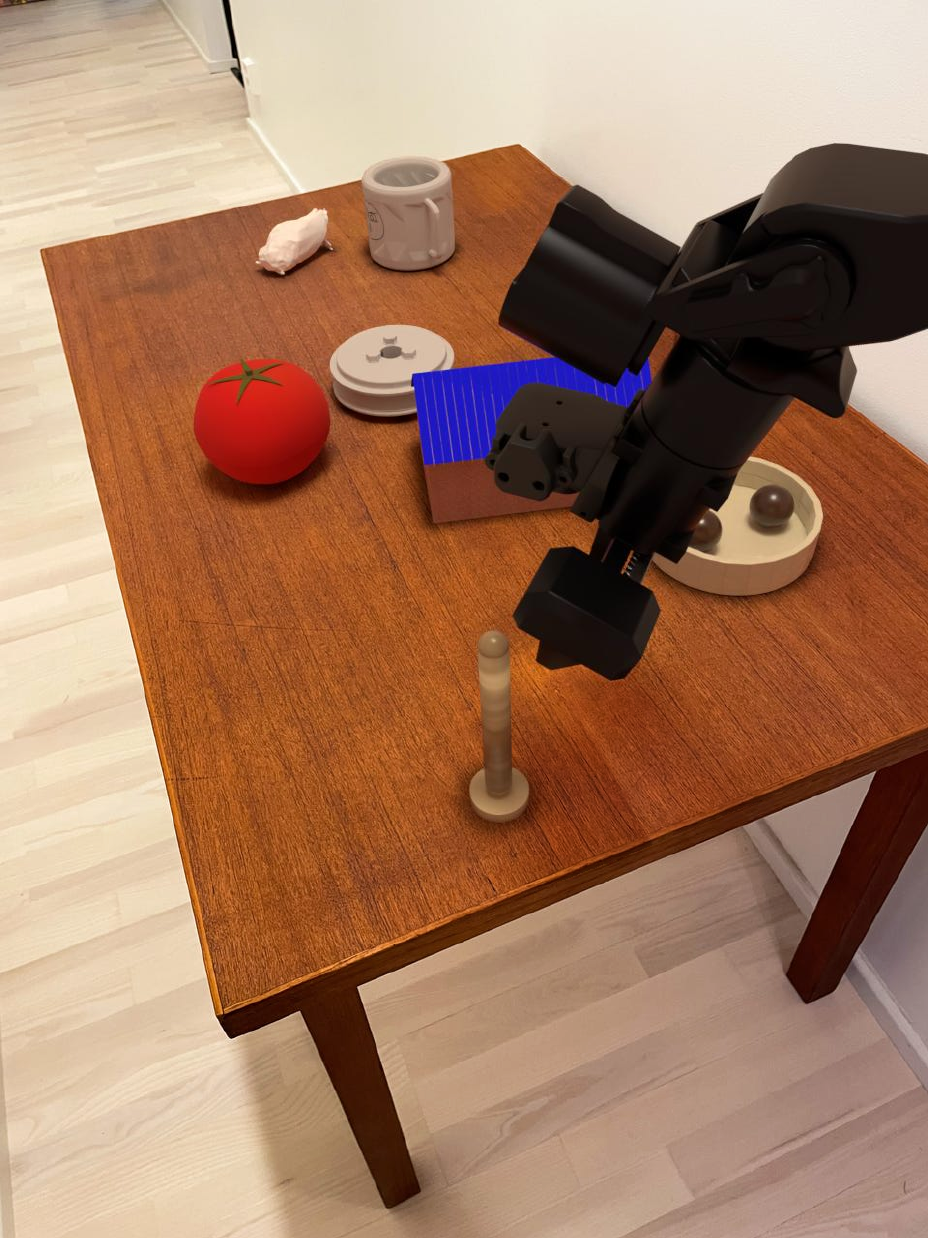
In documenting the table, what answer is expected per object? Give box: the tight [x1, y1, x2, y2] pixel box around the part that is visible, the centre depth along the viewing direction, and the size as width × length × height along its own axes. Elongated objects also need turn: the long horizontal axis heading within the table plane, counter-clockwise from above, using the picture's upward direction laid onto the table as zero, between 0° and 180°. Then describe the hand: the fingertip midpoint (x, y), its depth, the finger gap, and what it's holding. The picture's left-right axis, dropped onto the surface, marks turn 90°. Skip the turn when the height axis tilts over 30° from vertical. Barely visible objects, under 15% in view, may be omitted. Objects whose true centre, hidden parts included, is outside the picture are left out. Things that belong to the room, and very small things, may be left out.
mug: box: [361, 155, 456, 272], centre depth 117 cm, size 14×11×10 cm
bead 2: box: [749, 485, 794, 528], centre depth 80 cm, size 4×4×4 cm
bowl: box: [652, 455, 824, 597], centre depth 80 cm, size 14×14×4 cm
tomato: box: [193, 358, 331, 485], centre depth 88 cm, size 11×12×10 cm
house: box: [411, 356, 653, 524], centre depth 85 cm, size 12×20×12 cm, turn 98°
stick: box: [468, 630, 530, 824], centre depth 59 cm, size 4×4×16 cm
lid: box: [329, 324, 455, 417], centre depth 98 cm, size 13×13×5 cm
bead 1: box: [688, 510, 723, 552], centre depth 78 cm, size 4×4×4 cm
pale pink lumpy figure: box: [255, 207, 334, 276], centre depth 119 cm, size 5×7×10 cm
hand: (571, 609), depth 57 cm, fingers open, 9 cm apart
